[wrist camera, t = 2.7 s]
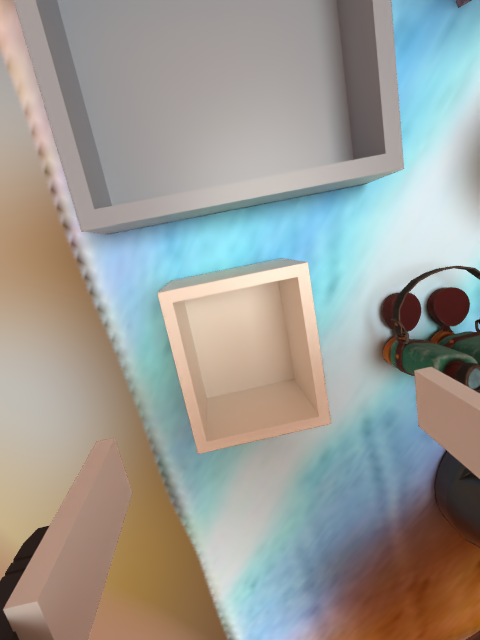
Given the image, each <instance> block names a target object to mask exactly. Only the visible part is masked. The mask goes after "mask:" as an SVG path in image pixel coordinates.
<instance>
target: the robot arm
mask: <svg viewBox="0 0 480 640" xmlns="http://www.w3.org/2000/svg"><path fill="white" fill-rule="evenodd" d="M414 372H415V386H416V399H417V413H418V426H419V427H420V428H421V429H423V430H424V431H425V432H426V433H427V434H428V435H429V436H431V437H432V438H433V439H434V440H435V441H436V442H438V443H439V444H440V445H441V446H442V447H443V448H445V449H446V450H447V453H446V454H445V456H444V458H443V460H442V462H441V464H440V466H439V469H438V472H437V476H436V482H435V494H436V500H437V503H438V506H439V509H440V510H441V512H442V514H443V515H444V517H445V518H446V519H447V520H448V521H449V522H450V524H451V525H452V526H453V527H454V528H455V529H456V530H457V532H458V533H459V534H460V535H461V536H463V537H464V538H465V539H466V540H467V541H469V542H470V543H472V544H474V545H476V546H478V547H479V548H480V393H478V392H476V391H474V390H472V389H471V388H469V387H467V386H465V385H463V384H462V383H460V382H458V381H456V380H454V379H453V378H451V377H449V376H447V375H445V374H443V373H442V372H440V371H438V370H436V369H434V368H433V367H427V368H423V369H418V370H414ZM131 495H132V490H131V487H130V484H129V481H128V477H127V474H126V471H125V468H124V465H123V462H122V459H121V456H120V452H119V449H118V446H117V443H116V440H115V438H111V439H106V440H102V441H98V442H96V444H95V446H94V447H93V449H92V451H91V453H90V454H89V456H88V458H87V460H86V462H85V463H84V465H83V467H82V469H81V470H80V472H79V474H78V476H77V478H76V479H75V481H74V483H73V485H72V487H71V488H70V490H69V492H68V494H67V496H66V498H65V499H64V501H63V503H62V505H61V506H60V508H59V510H58V512H57V514H56V515H55V517H54V519H53V521H52V523H51V524H50V526H46V527H42V528H38V529H37V530H36V531H35V532H34V533H33V534H32V535H31V536H30V537H29V538H28V539H27V540H26V541H25V542H24V543H23V545H22V547H21V548H20V550H19V551H18V553H17V555H16V556H15V558H14V561H13V563H11V565H10V566H9V568H8V569H7V571H6V573H5V576H4V577H3V578H2V579H1V581H0V640H88V639H89V635H90V632H91V629H92V625H93V622H94V619H95V615H96V612H97V609H98V605H99V602H100V599H101V595H102V592H103V589H104V585H105V582H106V579H107V575H108V572H109V569H110V565H111V562H112V559H113V555H114V552H115V549H116V545H117V542H118V539H119V535H120V532H121V529H122V525H123V522H124V519H125V515H126V512H127V508H128V505H129V502H130V498H131ZM466 640H480V631H478V632H477V633H475V634H474V635H472V636H471V637H469V638H468V639H466Z"/></svg>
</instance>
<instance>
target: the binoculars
mask: <svg viewBox="0 0 480 640" xmlns="http://www.w3.org/2000/svg"><path fill="white" fill-rule="evenodd" d="M452 268H456V269H464V270H467V271H468V272H470V273H471V274H472V275H474V276H475V277H477V278H478V279H480V271H478V270H477V269H476V268H471V267H463V266H450V267H445V268H439V269H435V270H432V271H429V272H426V273H424V274H422V275H420V276H418V277H417V278H415V279H413V280H411V281H410V283H409V284H408V285H407V286H406V287H405V288H404V289H403V290H402V291H401V292H400V293H395V294H392V295H390V296H389V297H388V298H387V299H386V300H385V302H384V304H383V316H384V319H385V321H386V323H387V324H388V325H389V327H391V328H392V329H393V332H394V335H395V336H394V337H393V338H391V339H390V340H389V341H388V342H387V343H386V345H385V347H384V349H383V357H384V359H385V360H386V361H387V362H389V363H391V364H393V365H394V366H395V367H396V368H398V369H399V370H401V371H402V372H404V373H407V374H409V375H412V376H415V372H414V370H418V369H423V368H427V367H433V368H434V369H436V370H438V371H440V372H442V373H443V374H445V375H447V376H449V377H451V378H453V379H454V380H456V381H458V382H460V383H462V384H463V385H465V386H467V387H469V388H471V389H472V390H474V391H476V392H478V393H480V330H479V328H478V322H479V324H480V319H479V320H476V321H475V328H476V331H477V332H471V331H470V332H463V333H459V334H454V333H453V331H451V330H450V326H456V325H458V324H460V323H461V322H462V321H463V320H464V319H465V317H466V316H467V314H468V311H469V308H470V302H469V298H468V296H467V295H466V293H465V292H464V291H462V290H461V289H458V288H452V287H451V288H441V289H438V290H436V291H435V292H433V293H432V295H431V296H430V298H429V300H428V311H429V314H430V315H431V317H432V318H433V319H434V320H435V321H436V322H437V323H438V324H441V329H442V330H440V331H438V332H437V333H436V334H435V335H434V336H433V337H432V339H431V340H430V341H424V340H417V339H409V334H408V333H407V332H408V331H411V330H412V329H413V328H415V326H416V325H417V323H418V321H419V319H420V316H421V305H420V302H419V300H418V299H417V297H416V296H415V295H413V294H411V293H409V292H410V291H411V290H412V289H413V287H414V286H415V285H416V284H417V283H418V282H419V281H421V280H423V279H425V278H426V277H428V276H430V275H432V274H434V273H437V272H440V271H443V270H447V269H452ZM406 331H407V332H406ZM405 335H406V336H405Z"/></svg>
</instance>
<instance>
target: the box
mask: <svg viewBox="0 0 480 640" xmlns="http://www.w3.org/2000/svg"><path fill="white" fill-rule="evenodd" d="M469 1H471V0H456V3H457V6H458V8H459V7H461V6H463V5H464V4H466V3H468V2H469Z"/></svg>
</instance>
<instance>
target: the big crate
mask: <svg viewBox="0 0 480 640" xmlns="http://www.w3.org/2000/svg"><path fill="white" fill-rule="evenodd" d="M14 3H15V6H16V10H17V13H18V17H19V20H20V23H21V27H22V30H23V34H24V37H25V40H26V44H27V47H28V51H29V54H30V57H31V61H32V64H33V68H34V71H35V75H36V78H37V81H38V85H39V88H40V92H41V95H42V98H43V102H44V105H45V109H46V112H47V115H48V119H49V122H50V126H51V129H52V133H53V136H54V139H55V143H56V146H57V150H58V153H59V156H60V160H61V163H62V167H63V170H64V173H65V177H66V180H67V184H68V187H69V191H70V194H71V197H72V201H73V204H74V208H75V211H76V214H77V218H78V221H79V225H80V228H81V231H82V232H91V233H100V234H112V233H117V232H122V231H127V230H133V229H138V228H143V227H148V226H153V225H158V224H163V223H168V222H174V221H179V220H184V219H189V218H194V217H199V216H204V215H209V214H215V213H220V212H225V211H230V210H235V209H240V208H245V207H250V206H256V205H261V204H266V203H271V202H276V201H281V200H286V199H291V198H297V197H302V196H307V195H312V194H317V193H322V192H327V191H332V190H338V189H343V188H348V187H353V186H358V185H363V184H367V183H369V182H372V181H374V180H377V179H379V178H382V177H384V176H387V175H390V174H392V173H395V172H397V171H400V170H402V169H404V164H403V150H402V137H401V124H400V111H399V97H398V84H397V71H396V57H395V44H394V31H393V18H392V4H391V0H14Z"/></svg>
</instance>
